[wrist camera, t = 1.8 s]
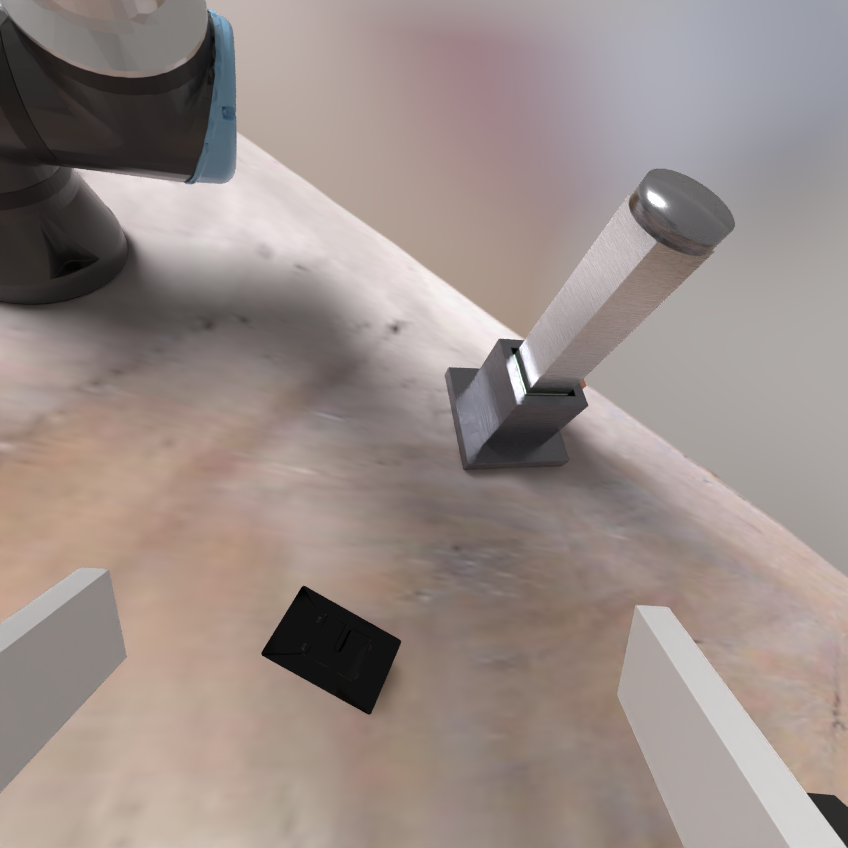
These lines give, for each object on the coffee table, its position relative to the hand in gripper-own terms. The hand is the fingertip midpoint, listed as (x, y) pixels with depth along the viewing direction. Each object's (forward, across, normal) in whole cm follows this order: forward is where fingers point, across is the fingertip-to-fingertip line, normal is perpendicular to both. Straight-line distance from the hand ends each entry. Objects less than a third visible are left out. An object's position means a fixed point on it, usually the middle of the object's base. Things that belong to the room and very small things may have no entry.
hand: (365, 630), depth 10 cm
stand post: (+37, +9, -3) cm, 38 cm away
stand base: (+38, +8, -4) cm, 39 cm away
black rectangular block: (+18, -6, -19) cm, 27 cm away
